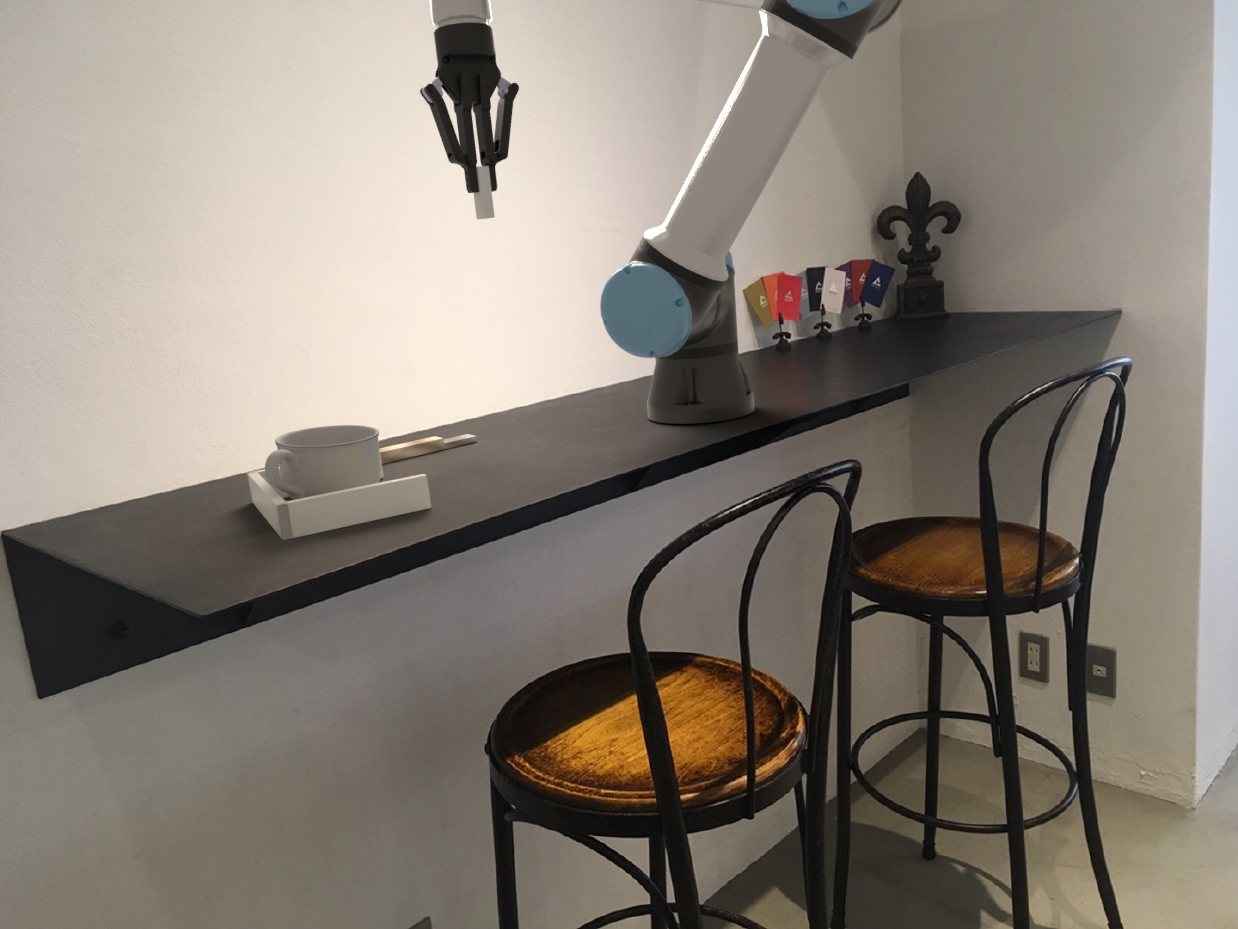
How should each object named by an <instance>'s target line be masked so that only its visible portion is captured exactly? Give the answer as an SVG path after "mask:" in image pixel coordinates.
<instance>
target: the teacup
mask: <svg viewBox="0 0 1238 929" xmlns="http://www.w3.org/2000/svg"><path fill="white" fill-rule="evenodd" d="M379 435H380V431H379V430H378V429H377V428H375V427H371V426H368V425H357V424H339V425H326V426H325V425H324V426H316V427H308V428H303V429H298V430H294V431H290V432H287V433H284V434H282V435H279V436H277V437H276V438H275V440H274V442H275V445H276V447H277V449H276V450H274V451H272V452H271V453H269V455H268V456H267V458H266V460H265V463H264V469H265V474H266V478H267V480H268V481H269V483H270V484H271V485H272V486H274V487H275V488H277V489H278V490H280V491H282V492H285V493H287V494H288V496H289V497H288V498H290V499H292V500H296V499H301V498H306V497H311V496H316V495H320V494H325V493H330V492H335V491H340V490H345V489H350V488H355V487H360V486H365V485H370V484H375V483H380V482H381V479H380V475H381V468H380V452H379V449H380V443H379ZM279 466H280V472H281V477H282V479H281V478H280V476H279V471H278V467H279Z"/></svg>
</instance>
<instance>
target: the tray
mask: <svg viewBox="0 0 1238 929" xmlns="http://www.w3.org/2000/svg"><path fill="white" fill-rule="evenodd" d="M379 452H380V450H379ZM380 468H381V475H380V480H381V479H385V476H384V469H383V464H382V462H381V455H380ZM278 471H279V476H280V478H281V479H282V477H281V472H280V465H279V467H278ZM246 476H247V480H248V485H249V486H248V487H249V492H250V498H251V503H252V504H253V505H254V506H255V507H256V509H257V510H258V511H259V513H260V514H261V515H262V516H263V518H265V520H266V521H267V522H268V524H269V525H270V526H271V527H272V528H273V530H274V531H275V532H276V533H277V535H278V536H279V537H280V539H281V540H282V541H285V540H291V539H294V538H300V537H305V536H308V535H313V534H319V533H322V532H327V531H333V530H336V529H340V528H346V527H350V526H354V525H360V524H364V523H368V522H369V523H370V522H372V521H373V522H374V521H377V520H382V519H383V520H384V519H387V518H392V517H395V516H396V517H397V516H401V515H404V514H410V513H415V512H419V511H424V510H428V509H431V508H432V503H431V502H432V501H431V496H430V488H429V482H428V476H427V474H425V473H421V474H416V475H410V476H406V477H400V478H395V479H392V480H385V481H380V482H379V483H375V484H370V485H365V486H360V487H355V488H350V489H345V490H340V491H335V492H330V493H325V494H320V495H316V496H311V497H306V498H301V499H296V500H293V499H292V500H285V498H286V499H287V498H290V497H289V496H288V494H287V493H285V492H282V491H280V490H278V489H277V488H275V487H274V486H272V485H271V484H270V483H269V481H268V480H267V478H266V474H265V468H264V469H259V470H253V471H247V472H246Z"/></svg>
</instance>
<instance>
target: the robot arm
mask: <svg viewBox="0 0 1238 929" xmlns="http://www.w3.org/2000/svg"><path fill="white" fill-rule="evenodd" d="M696 1H698V2H705V3H710V4H711V3H712V4H719V5H724V6H731V7H738V8H743V9H751V10H757V11H759V17H760V22H761V25H762V33H761V36H760V38H759V39H758V42H757V43H756V46H755V48H754V50H753V51H752V52H751V54H750V57H749V59H748V61H747V62H746V65H745V67H744V68H743V71H741V74H740V76H739V78H738V80H737V82H736V84H735V85H734V88H733V90H732V92H730V93H731V94H730V95H729V97H728V99H727V100H726V103H725V104H724V107H723V109H722V111H721V112H720V114H719V116H718V118H717V120H716V122H715V124H714V126H713V128H712V130H711V132H710V133H709V135H708V137H707V139H706V141H705V143H704V144H703V147H702V148H701V151H700V152H699V154H698V156H697V158H696V160H695V162H694V164H693V166H692V168H691V170H690V172H689V174H688V175H687V177H686V180H685V181H684V183H683V185H682V187H681V190H680V191H679V193H678V195H677V196H676V199H675V201H674V202H673V204H672V206H671V208H670V210H669V212H668V214H667V215H666V217H665V220H664V221H663V223H662V224H660V225H659V226H655V227H652V228H649V229H646V231H645V232H644V233H643V235H642V237H641V238H640V240H639V243H638V245H637V246H636V249H635V251H634V252H633V254H632V256H631V258H630V260H629V262H628V263H627V264H625V265H623V266H621V267H619V268H618V269H617V270H616V271H615V272H614V273H613V274H612V275H611V276H610V277H609V278H608V280H607V281H606V283H605V284H604V286H603V289H602V292H601V295H600V305H599V306H600V308H599V309H600V317H601V320H602V322H603V326H604V329H605V330H606V332H607V335H608V336H609V338H610V339H611V340H612V341H613V343H614V344H615V345H617V346H618V348H620V349H621V350H623V351H624V352H626V353H627V354H629V355H632V356H634V357H637V358H641V359H642V358H644V359H653V358H655V365H654V370H653V374H652V378H651V382H650V383H651V384H650V388H649V392H648V397H647V400H646V410H647V418H648V420H650V421H652V422H655V423H660V424H672V425H673V424H674V425H675V424H676V425H689V424H690V425H692V424H693V425H694V424H705V423H706V424H707V423H714V422H717V423H718V422H723V421H730V420H734V419H738V418H742V417H744V416H748V415H750V414H752V413H753V412H754V411H755V408H756V407H755V396H754V392H753V390H752V388H751V385H750V382H749V380H748V376H747V374H746V372H745V371H746V370H745V369H744V366H743V365H742V362H741V357H740V356H739V355H740V354H739V342H738V341H739V339H738V337H739V336H738V324H737V321H738V320H737V306H736V304H737V303H736V290H735V289H736V288H735V286H736V285H735V275H736V272H735V271H736V269H735V266H734V262H733V255H732V253H731V251H730V250H731V248H732V246H733V244H734V243H735V241H736V239H737V237H738V235H739V233H740V232H741V231H742V229H743V226H744V224H745V223H746V221H747V219H748V217H749V216H750V214H751V212H752V210H753V209H754V207H755V205H756V203H757V202H758V199H759V198H760V196H761V195H762V193H763V191H764V189H765V187H766V185H767V184H768V182H769V180H770V178H771V177H772V175H773V173H774V171H775V170H776V168H777V166H778V164H779V163H780V160H781V158H782V157H783V155H784V153H785V151H786V150H787V148H788V146H789V144H790V143H791V141H792V139H793V138H794V135H795V134H796V132H797V130H798V128H799V126H800V124H801V123H802V121H803V119H804V118H805V116H806V115H807V112H808V110H809V109H810V107H811V106H812V104H813V102H814V99H815V98H816V96H817V94H818V93H819V91H820V89H821V87H822V86H823V84H824V82H825V80H826V78H827V77H828V74H829V73H830V72H831V71H832V70H834V69H836V68H838V67H841V66H844V65H847V64H850V63H851V62H852V60H853V58H854V56H855V55H856V53H857V52H858V50H859V48H860V46H861V45H862V43H863V41H864V39H865V37H866V36H867V35H869V34H871V33H874V32H876V31H878V30H880V29H881V28H882V27H883V26H885V25H886V24H888V23H889V22H890V20H891V19H892V18H893V17H895V15H896V13H897V12H898V10H899V9H900V7H901V5H902V3H903V1H904V0H696ZM429 4H430V6H429V7H430V13H431V14H430V15H431V20H432V21H431V22H432V25H433V26H434V27H435V28H436V29H435V30H434V32H433V41H434V47H435V55H436V62H437V68H436V71H435V76H434V77H435V78H434V79H433V80H432V81H431V82H430V83H428V84H425V85H424V86H422V87H421V88H420V91H419V93H420V95H421V97H422V98H423V100H424V101H426V104H427V105H428V106H429V108H430V111H431V114H432V116H433V119H434V122H435V125H436V128H437V131H438V133H439V138H440V139H441V142H442V145H443V149H444V151H445V153H446V157H447V159H448V163H450V164H454V165H458V166H460V167H461V168H462V169H463V171H464V178H465V179H464V180H465V186H466V191H467V193H468V194H473V200H474V201H473V202H474V209H475V214H476V215H475V217H476V220H485V219H487V220H489V219H492V218H495V210H494V201H493V200H494V199H493V192H497V191H498V182H497V181H498V180H497V171H496V166H497V164H498V163H500V162H502V161H504V160H507V158H508V156H509V150H510V138H511V129H512V118H513V109H514V107H513V106H514V101H515V99H516V97H517V94H518V92H519V91H520V86H519V84H518V83H517V82H512V83H511V82H510V81H509V80H507V79H506V78H504V77H503V76H502V73H501V69H500V67H499V66H498V63H497V54H496V53H497V52H496V43H495V33H494V28H493V27H492V26H491V25H489V24H490V23H491V22H492V21H493V16H492V8H491V6H492V5H491V1H490V0H429ZM496 88H497V93H496V94H497V96H498V97H499V98H498V102H497V107H496V117H495V128H494V132H493V124H492V116H491V110H492V104H491V98H492V97H493V95H494V93H495V90H496ZM443 91H444V92H445V93H446V95H447V96H448V97H449V98H450V100H451V101H452V104H453V112H454V114H455V115H456V117H455V118H456V124H457V133H458V136H457V134H456V130H455V128H454V124H453V121H452V119H451V116H450V114H449V110H448V108H447V105H446V102H445V100H444V98H443V96H444V92H443ZM472 111H473V112H472ZM472 113H474V120H475V126H476V127H475V128H476V136H477V143H478V152H479V160H480V165H481V166H480V165H478V166H477V164H478V156H477V148H476V140H475V139H476V138H475V132H474V123H473V122H474V121H473V114H472ZM493 133H494V134H493Z"/></svg>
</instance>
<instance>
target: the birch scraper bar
mask: <svg viewBox="0 0 1238 929" xmlns="http://www.w3.org/2000/svg"><path fill="white" fill-rule="evenodd" d="M477 438H478V437H477V435H473V434H470V433H466V434H462V435H457V436H453V437H449V438H448V437H447V438H443V437H439V436H436V435H435V436H430V437H425V438H421V439H416V440H412V441H407V442H403V443H399V444H393V445H388V446H385V447H379V450H380V455H381V462H382V465H383V464H387V463H391V462H395V461H399V460H403V459H409V458H413V457H417V456H421V455H426V454H431V453H434V452H439V451H443V450H448V449H452V448H457V447H460V446H465V445H468V444H473V443H477V442H478V439H477Z"/></svg>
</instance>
